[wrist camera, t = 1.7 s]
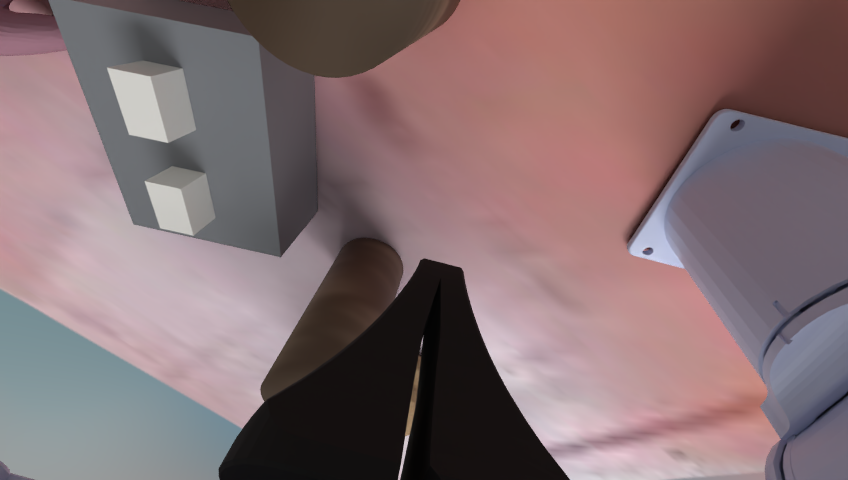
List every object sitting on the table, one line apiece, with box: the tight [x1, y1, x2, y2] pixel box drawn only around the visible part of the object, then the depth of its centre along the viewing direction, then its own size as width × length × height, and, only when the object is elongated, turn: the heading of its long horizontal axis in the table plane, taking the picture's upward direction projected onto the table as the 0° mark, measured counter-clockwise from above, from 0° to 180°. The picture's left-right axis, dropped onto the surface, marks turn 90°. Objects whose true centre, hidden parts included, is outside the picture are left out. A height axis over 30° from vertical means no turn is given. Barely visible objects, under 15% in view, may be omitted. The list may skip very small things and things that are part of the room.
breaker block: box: [48, 0, 318, 257], centre depth 17 cm, size 8×10×7 cm
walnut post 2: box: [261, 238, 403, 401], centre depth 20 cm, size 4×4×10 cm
